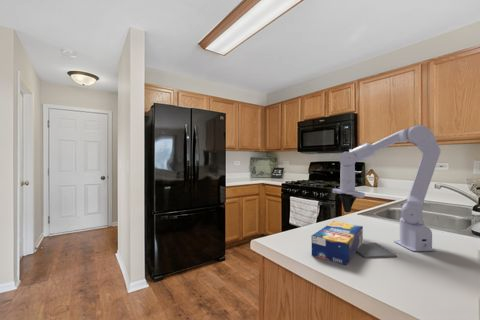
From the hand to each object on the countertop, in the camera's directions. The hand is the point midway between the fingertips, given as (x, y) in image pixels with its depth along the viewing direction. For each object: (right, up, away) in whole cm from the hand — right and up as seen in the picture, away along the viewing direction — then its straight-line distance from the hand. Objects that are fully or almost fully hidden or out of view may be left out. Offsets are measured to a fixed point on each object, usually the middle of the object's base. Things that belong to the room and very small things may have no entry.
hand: (347, 212), depth 98 cm
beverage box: (-3, -6, -7) cm, 10 cm away
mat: (0, -10, -17) cm, 20 cm away
